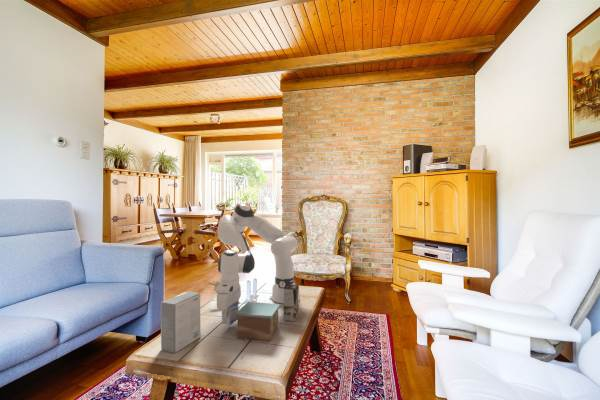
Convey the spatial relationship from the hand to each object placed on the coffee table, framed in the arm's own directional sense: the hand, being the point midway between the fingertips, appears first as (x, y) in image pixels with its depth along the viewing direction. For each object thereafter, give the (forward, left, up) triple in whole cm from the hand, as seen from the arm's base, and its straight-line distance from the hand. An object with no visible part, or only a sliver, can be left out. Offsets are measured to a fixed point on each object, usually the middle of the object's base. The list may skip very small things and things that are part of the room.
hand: (229, 312), depth 141 cm
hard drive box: (+19, -13, -7) cm, 24 cm away
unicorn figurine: (-26, -15, -7) cm, 31 cm away
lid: (+3, +16, +3) cm, 16 cm away
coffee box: (-18, +27, -7) cm, 33 cm away
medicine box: (0, 0, -4) cm, 4 cm away
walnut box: (+3, +16, -7) cm, 17 cm away
